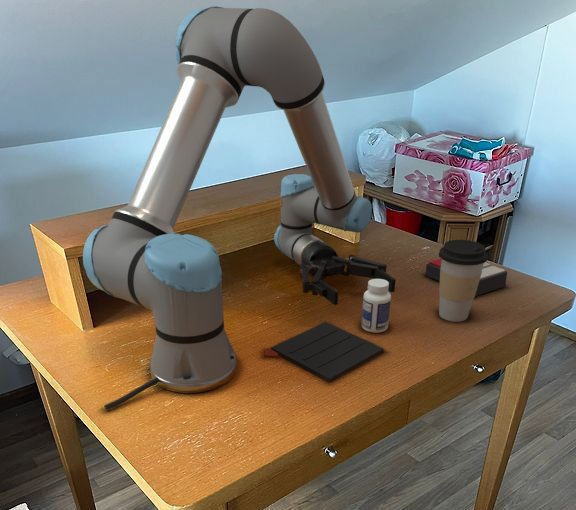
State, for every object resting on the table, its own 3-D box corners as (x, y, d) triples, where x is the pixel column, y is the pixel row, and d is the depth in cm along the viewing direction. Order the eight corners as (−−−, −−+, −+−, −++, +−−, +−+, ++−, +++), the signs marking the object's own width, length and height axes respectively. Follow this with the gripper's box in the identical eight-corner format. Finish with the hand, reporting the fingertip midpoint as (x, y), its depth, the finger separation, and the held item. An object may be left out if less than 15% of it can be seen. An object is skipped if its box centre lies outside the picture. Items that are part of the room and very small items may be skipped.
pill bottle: (388, 322, 123) (393, 278, 117) (387, 334, 118) (392, 289, 113) (362, 319, 123) (365, 276, 118) (359, 332, 119) (363, 287, 114)
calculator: (459, 251, 146) (509, 268, 135) (457, 268, 148) (506, 286, 137) (425, 260, 141) (475, 279, 130) (424, 277, 143) (472, 297, 132)
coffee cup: (477, 327, 121) (491, 257, 112) (429, 323, 122) (440, 253, 114) (474, 307, 128) (487, 239, 120) (430, 303, 130) (439, 236, 122)
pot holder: (319, 387, 103) (320, 383, 102) (258, 353, 112) (258, 349, 111) (383, 352, 113) (384, 347, 112) (322, 323, 122) (322, 319, 122)
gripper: (361, 263, 143) (414, 297, 127) (266, 281, 134) (310, 321, 118) (363, 232, 139) (418, 264, 123) (265, 249, 130) (311, 286, 114)
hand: (365, 292), depth 121 cm, fingers open, 13 cm apart
